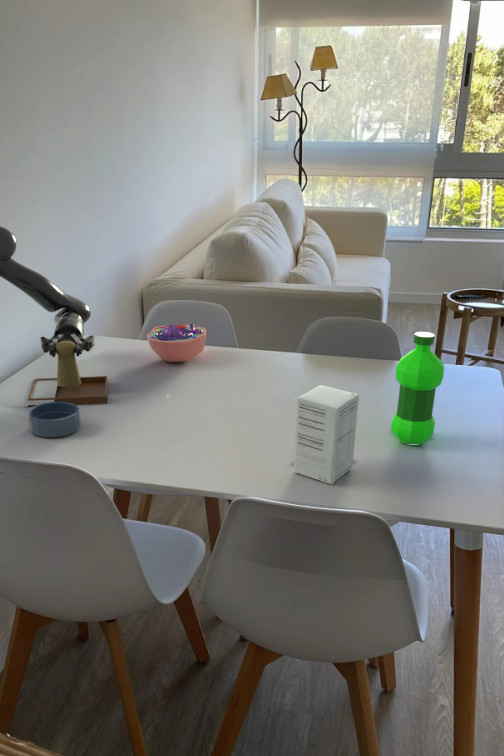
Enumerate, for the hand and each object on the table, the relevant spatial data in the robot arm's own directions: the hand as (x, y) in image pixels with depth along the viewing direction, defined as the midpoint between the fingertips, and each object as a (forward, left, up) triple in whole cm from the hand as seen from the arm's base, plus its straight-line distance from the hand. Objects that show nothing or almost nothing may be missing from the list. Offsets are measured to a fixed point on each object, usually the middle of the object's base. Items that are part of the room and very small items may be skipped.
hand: (65, 352), depth 176 cm
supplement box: (+54, -49, -12) cm, 74 cm away
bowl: (-2, -20, -12) cm, 23 cm away
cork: (0, +3, -9) cm, 10 cm away
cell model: (+30, +28, -12) cm, 43 cm away
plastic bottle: (+78, -37, -12) cm, 87 cm away
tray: (0, +2, -12) cm, 12 cm away
